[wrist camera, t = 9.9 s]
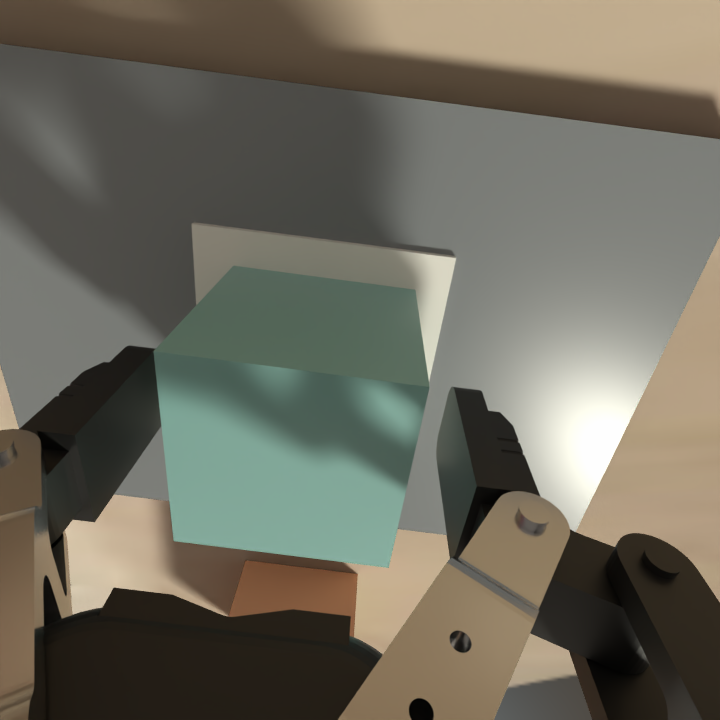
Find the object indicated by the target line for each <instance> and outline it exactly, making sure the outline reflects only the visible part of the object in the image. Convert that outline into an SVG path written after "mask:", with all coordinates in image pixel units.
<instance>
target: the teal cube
mask: <svg viewBox="0 0 720 720" xmlns="http://www.w3.org/2000/svg"><path fill="white" fill-rule="evenodd" d="M154 361H155V370H156V379H157V389H158V398H159V408H160V417H161V426H162V436H163V445H164V455H165V464H166V473H167V483H168V492H169V502H170V511H171V520H172V530H173V539H174V541H177V542H185V543H193V544H201V545H209V546H217V547H225V548H233V549H241V550H249V551H258V552H266V553H274V554H282V555H290V556H298V557H306V558H314V559H322V560H330V561H338V562H346V563H354V564H362V565H370V566H378V567H386V568H389V564H390V559H391V555H392V550H393V546H394V542H395V537H396V533H397V528H398V524H399V520H400V515H401V511H402V506H403V502H404V498H405V493H406V489H407V484H408V480H409V476H410V471H411V467H412V462H413V458H414V454H415V449H416V445H417V441H418V436H419V432H420V427H421V423H422V419H423V414H424V410H425V405H426V401H427V397H428V392H429V388H430V386H429V379H428V372H427V365H426V359H425V352H424V345H423V338H422V332H421V325H420V318H419V311H418V304H417V298H416V291H415V290H414V289H406V288H399V287H391V286H384V285H376V284H369V283H361V282H353V281H346V280H338V279H331V278H323V277H316V276H308V275H300V274H293V273H285V272H278V271H270V270H263V269H255V268H248V267H240V266H233V267H232V268H231V269H230V270H229V271H228V272H227V273H226V274H225V275H224V276H223V277H222V278H221V279H220V280H219V282H218V283H217V284H216V285H215V286H214V287H213V288H212V289H211V290H210V291H209V292H208V293H207V294H206V295H205V297H204V298H203V299H202V300H201V301H200V302H199V303H198V304H197V305H196V306H195V307H194V308H193V309H192V310H191V312H190V313H189V314H188V315H187V316H186V317H185V318H184V319H183V320H182V321H181V322H180V323H179V324H178V325H177V327H176V328H175V329H174V330H173V331H172V332H171V333H170V334H169V335H168V336H167V337H166V338H165V339H164V340H163V342H162V343H161V344H160V345H159V346H158V347H157V348H156V349H155V350H154Z"/></svg>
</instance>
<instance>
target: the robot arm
mask: <svg viewBox="0 0 720 720" xmlns="http://www.w3.org/2000/svg"><path fill="white" fill-rule="evenodd" d="M154 350H155V348H147V347H139V346H131V345H129V346H126V347H125V348H124V349H123V350H122V351H121V352H120V353H119V354H118V355H116V356H115V357H114V358H113V359H112V360H111V361H110V362H102V363H100V364H98V365H96V366H94V367H92V368H90V369H87V370H85V371H83V372H82V373H81V374H80V375H79V376H78V377H77V378H76V379H75V380H73V381H72V382H71V383H70V386H67V387H66V388H64V389H63V390H62V391H61V392H60V393H59V396H55V397H54V398H53V399H52V400H51V401H50V402H49V403H48V404H46V405H45V406H44V407H43V408H42V409H41V410H40V411H39V412H38V413H36V414H35V415H34V416H33V417H32V418H31V419H30V420H29V421H27V422H26V423H25V424H24V425H23V426H22V427H21V428H20V429H8V430H0V720H494V718H495V715H496V713H497V711H498V708H499V706H500V704H501V701H502V699H503V696H504V694H505V692H506V689H507V687H508V685H509V682H510V680H511V677H512V675H513V673H514V670H515V668H516V666H517V663H518V661H519V658H520V656H521V654H522V651H523V649H524V647H525V644H526V642H527V639H528V637H529V635H530V633H531V634H533V635H535V636H538V637H540V638H542V639H544V640H547V641H549V642H551V643H553V644H556V645H558V646H560V647H563V648H565V649H567V650H569V652H570V655H571V658H572V661H573V664H574V667H575V670H576V673H577V676H578V679H579V682H580V685H581V688H582V691H583V693H584V696H585V699H586V702H587V705H588V708H589V711H590V714H591V717H592V720H720V602H719V601H718V599H717V598H716V596H715V595H714V593H713V592H712V591H711V589H710V588H709V586H708V585H707V583H706V582H705V580H704V579H703V577H702V576H701V574H700V573H699V571H698V570H697V568H696V567H695V566H694V564H693V563H692V562H691V561H690V560H689V559H688V558H687V557H686V556H685V555H684V554H683V553H681V552H680V551H679V550H677V549H676V548H675V547H673V546H671V545H670V544H668V543H666V542H664V541H662V540H660V539H658V538H656V537H653V536H649V535H646V534H639V533H632V534H627V535H625V536H623V537H622V538H621V539H620V540H619V541H618V543H617V545H616V547H613V546H610V545H607V544H605V543H602V542H599V541H597V540H594V539H591V538H589V537H586V536H583V535H581V534H579V533H576V532H574V531H573V530H571V529H570V527H569V524H568V521H567V519H566V518H565V516H564V515H563V513H562V512H561V511H560V510H559V509H558V508H557V507H556V506H555V505H553V504H552V503H551V502H549V501H548V500H546V499H544V498H542V497H540V494H539V491H538V489H537V486H536V484H535V481H534V479H533V476H532V473H531V471H530V468H529V466H528V463H527V460H526V458H525V455H523V450H522V447H521V445H520V443H518V441H519V440H518V437H517V435H516V432H515V429H514V427H513V425H512V424H511V423H510V422H509V421H508V420H507V419H506V418H505V417H504V416H503V415H502V414H501V413H500V412H495V411H488V408H487V405H486V402H485V399H484V396H483V393H482V391H481V390H475V389H467V388H459V387H451V388H450V390H449V393H448V397H447V401H446V405H445V409H444V413H443V417H442V421H441V425H440V429H439V433H438V438H437V447H436V460H437V467H438V475H439V482H440V489H441V497H442V504H443V511H444V518H445V526H446V533H447V540H448V548H449V555H450V559H449V561H448V562H447V563H446V565H445V566H444V567H443V569H442V570H441V572H440V573H439V575H438V576H437V577H436V579H435V580H434V582H433V583H432V585H431V586H430V588H429V589H428V590H427V592H426V593H425V595H424V596H423V598H422V599H421V601H420V602H419V603H418V605H417V606H416V608H415V609H414V611H413V612H412V614H411V615H410V616H409V618H408V619H407V621H406V622H405V624H404V625H403V627H402V628H401V629H400V631H399V632H398V634H397V635H396V637H395V638H394V639H393V641H392V642H391V644H390V645H389V647H388V648H387V650H386V651H385V652H384V654H381V653H380V652H379V651H377V650H376V649H375V648H373V647H371V646H370V645H368V644H366V643H364V642H363V641H361V640H359V639H356V638H354V637H352V636H350V622H351V616H345V615H337V614H329V613H320V612H312V611H304V610H295V609H291V610H283V611H275V612H267V613H260V614H252V615H244V616H236V617H227V616H223V615H220V614H218V613H216V612H213V611H211V610H208V609H206V608H203V607H201V606H199V605H196V604H194V603H191V602H189V601H186V600H184V599H181V598H179V597H177V596H174V595H170V594H162V593H154V592H145V591H137V590H129V589H120V588H113V590H112V592H111V594H110V595H109V597H108V599H107V601H106V603H105V604H104V606H103V608H97V609H92V610H88V611H84V612H80V613H77V614H74V615H73V614H72V603H71V589H70V574H69V559H68V545H67V537H66V533H65V529H66V528H67V526H68V525H69V524H70V522H71V521H72V520H81V521H90V522H95V521H96V519H97V518H98V517H99V515H100V514H101V512H102V511H103V509H104V508H105V506H106V505H107V504H108V502H109V501H110V499H111V498H112V496H113V495H114V494H115V492H116V491H117V489H118V488H119V486H120V485H121V483H122V482H123V481H124V479H125V478H126V476H127V475H128V473H129V472H130V470H131V469H132V468H133V466H134V465H135V463H136V462H137V460H138V459H139V458H140V456H141V455H142V453H143V452H144V450H145V449H146V447H147V446H148V445H149V443H150V442H151V440H152V439H153V437H154V436H155V434H156V433H157V432H158V430H159V429H160V427H161V417H160V408H159V398H158V389H157V379H156V370H155V361H154Z"/></svg>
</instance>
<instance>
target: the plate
mask: <svg viewBox="0 0 720 720" xmlns="http://www.w3.org/2000/svg"><path fill="white" fill-rule="evenodd" d="M719 236H720V139H715V138H707V137H699V136H692V135H684V134H677V133H669V132H662V131H654V130H647V129H639V128H632V127H624V126H617V125H609V124H601V123H594V122H586V121H579V120H571V119H564V118H556V117H549V116H541V115H534V114H526V113H519V112H511V111H504V110H496V109H488V108H481V107H473V106H466V105H458V104H451V103H443V102H436V101H428V100H421V99H413V98H406V97H398V96H390V95H383V94H375V93H368V92H360V91H353V90H345V89H338V88H330V87H323V86H315V85H308V84H300V83H292V82H285V81H277V80H270V79H262V78H255V77H247V76H240V75H232V74H225V73H217V72H210V71H202V70H194V69H187V68H179V67H172V66H164V65H157V64H149V63H142V62H134V61H127V60H119V59H112V58H104V57H97V56H89V55H81V54H74V53H66V52H59V51H51V50H44V49H36V48H29V47H21V46H14V45H6V44H0V365H1V369H2V372H3V376H4V379H5V382H6V386H7V389H8V393H9V396H10V399H11V403H12V406H13V409H14V413H15V416H16V420H17V423H18V426H19V429H20V428H21V427H22V426H23V425H24V424H25V423H26V422H27V421H29V420H30V419H31V418H32V417H33V416H34V415H35V414H36V413H38V412H39V411H40V410H41V409H42V408H43V407H44V406H45V405H46V404H48V403H49V402H50V401H51V400H52V399H53V398H54V397H55V396H59V393H60V392H61V391H62V390H63V389H64V388H66V387H67V386H70V383H71V382H72V381H73V380H75V379H76V378H77V377H78V376H79V375H80V374H81V373H82V372H83V371H85V370H87V369H90V368H92V367H94V366H96V365H98V364H100V363H102V362H110V361H111V360H112V359H113V358H114V357H115V356H116V355H118V354H119V353H120V352H121V351H122V350H123V349H124V348H125V347H126V346H129V345H131V346H139V347H147V348H155V349H156V348H157V347H158V346H159V345H160V344H161V343H162V342H163V340H164V339H165V338H166V337H167V336H168V335H169V334H170V333H171V332H172V331H173V330H174V329H175V328H176V327H177V325H178V324H179V323H180V322H181V321H182V320H183V319H184V318H185V317H186V316H187V315H188V314H189V313H190V312H191V310H192V309H193V308H194V307H195V306H196V305H197V304H198V303H199V302H200V301H201V300H202V299H203V298H204V297H205V295H206V294H207V293H208V292H209V291H210V290H211V289H212V288H213V287H214V286H215V285H216V284H217V283H218V282H219V280H220V279H221V278H222V277H223V276H224V275H225V274H226V273H227V272H228V271H229V270H230V269H231V268H232V267H233V266H240V267H248V268H255V269H263V270H270V271H278V272H285V273H293V274H300V275H308V276H316V277H323V278H331V279H338V280H346V281H353V282H361V283H369V284H376V285H384V286H391V287H399V288H406V289H414V290H415V291H416V298H417V304H418V311H419V318H420V325H421V332H422V338H423V345H424V352H425V359H426V365H427V372H428V379H429V386H430V388H429V392H428V397H427V401H426V405H425V410H424V414H423V419H422V423H421V427H420V432H419V436H418V441H417V445H416V449H415V454H414V458H413V462H412V467H411V471H410V476H409V480H408V484H407V489H406V493H405V498H404V502H403V506H402V511H401V515H400V520H399V524H398V528H397V529H402V530H410V531H418V532H426V533H435V534H443V535H447V533H446V526H445V518H444V511H443V504H442V497H441V489H440V482H439V475H438V467H437V460H436V447H437V438H438V433H439V429H440V425H441V421H442V417H443V413H444V409H445V405H446V401H447V397H448V393H449V390H450V388H451V387H459V388H467V389H475V390H481V391H482V393H483V396H484V399H485V402H486V405H487V408H488V411H495V412H500V413H501V414H502V415H503V416H504V417H505V418H506V419H507V420H508V421H509V422H510V423H511V424H512V425H513V427H514V429H515V432H516V435H517V437H518V440H519V441H518V443H520V445H521V447H522V450H523V455H525V458H526V460H527V463H528V466H529V468H530V471H531V473H532V476H533V479H534V481H535V484H536V486H537V489H538V491H539V494H540V497H542V498H544V499H546V500H548V501H549V502H551V503H552V504H553V505H555V506H556V507H557V508H558V509H559V510H560V511H561V512H562V513H563V515H564V516H565V518H566V519H567V521H568V524H569V527H570V529H571V530H573V531H574V532H576V530H577V528H578V526H579V524H580V522H581V519H582V517H583V515H584V513H585V511H586V509H587V507H588V505H589V503H590V501H591V499H592V497H593V495H594V493H595V491H596V489H597V487H598V485H599V483H600V480H601V478H602V476H603V474H604V472H605V470H606V468H607V466H608V464H609V462H610V460H611V458H612V456H613V454H614V452H615V450H616V448H617V446H618V444H619V442H620V439H621V437H622V435H623V433H624V431H625V429H626V427H627V425H628V423H629V421H630V419H631V417H632V415H633V413H634V411H635V409H636V407H637V405H638V403H639V400H640V398H641V396H642V394H643V392H644V390H645V388H646V386H647V384H648V382H649V380H650V378H651V376H652V374H653V372H654V370H655V368H656V366H657V364H658V362H659V359H660V357H661V355H662V353H663V351H664V349H665V347H666V345H667V343H668V341H669V339H670V337H671V335H672V333H673V331H674V329H675V327H676V325H677V323H678V320H679V318H680V316H681V314H682V312H683V310H684V308H685V306H686V304H687V302H688V300H689V298H690V296H691V294H692V292H693V290H694V288H695V286H696V284H697V282H698V279H699V277H700V275H701V273H702V271H703V269H704V267H705V265H706V263H707V261H708V259H709V257H710V255H711V253H712V251H713V249H714V247H715V245H716V243H717V240H718V238H719ZM115 495H124V496H132V497H140V498H148V499H156V500H165V501H169V492H168V483H167V473H166V464H165V455H164V445H163V436H162V426H161V427H160V429H159V430H158V432H157V433H156V434H155V436H154V437H153V439H152V440H151V442H150V443H149V445H148V446H147V447H146V449H145V450H144V452H143V453H142V455H141V456H140V458H139V459H138V460H137V462H136V463H135V465H134V466H133V468H132V469H131V470H130V472H129V473H128V475H127V476H126V478H125V479H124V481H123V482H122V483H121V485H120V486H119V488H118V489H117V491H116V492H115Z"/></svg>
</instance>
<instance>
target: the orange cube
mask: <svg viewBox="0 0 720 720" xmlns="http://www.w3.org/2000/svg"><path fill="white" fill-rule="evenodd" d="M357 576H358V574H354V573H346V572H338V571H329V570H321V569H313V568H305V567H296V566H288V565H280V564H272V563H264V562H255V561H247V560H246V561H245V564H244V567H243V571H242V574H241V577H240V580H239V584H238V587H237V590H236V594H235V597H234V600H233V603H232V607H231V610H230V613H229V616H228V617H236V616H244V615H252V614H260V613H267V612H275V611H283V610H291V609H295V610H304V611H312V612H320V613H329V614H337V615H345V616H351V622H350V636H352V637H354V625H355V609H356V593H357Z"/></svg>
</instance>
